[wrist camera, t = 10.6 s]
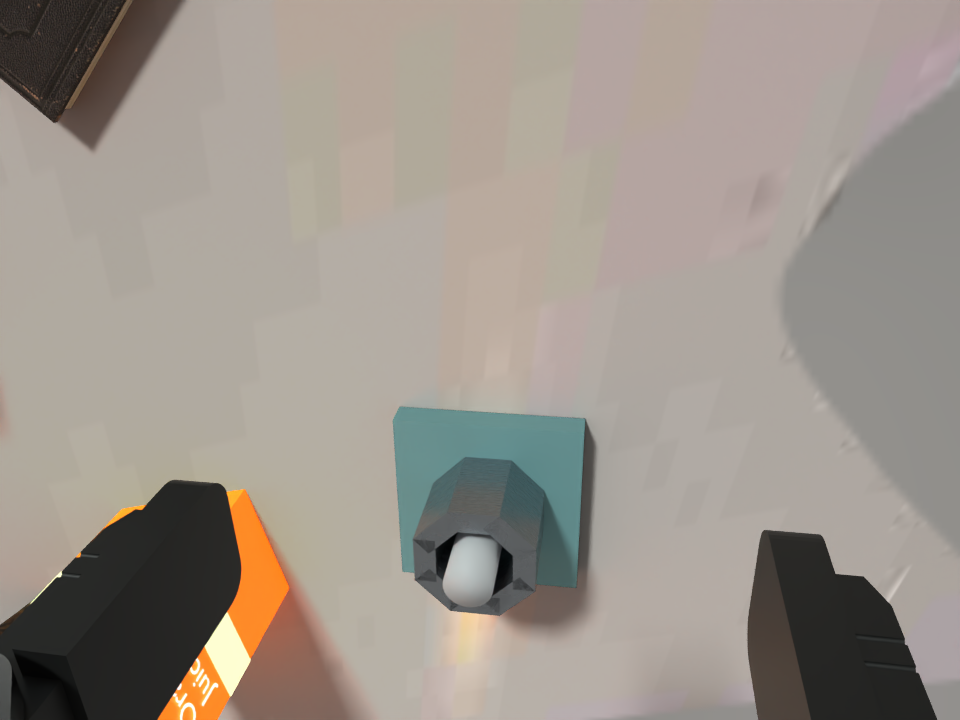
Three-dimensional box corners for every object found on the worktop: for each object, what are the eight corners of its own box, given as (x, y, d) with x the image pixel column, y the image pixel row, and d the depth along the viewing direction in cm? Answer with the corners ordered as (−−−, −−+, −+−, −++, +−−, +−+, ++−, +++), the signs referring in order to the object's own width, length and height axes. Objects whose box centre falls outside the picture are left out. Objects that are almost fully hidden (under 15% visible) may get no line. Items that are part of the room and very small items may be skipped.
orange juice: (120, 507, 49) (-165, 802, 31) (245, 486, 47) (16, 792, 29) (171, 605, 52) (-63, 927, 34) (291, 590, 50) (110, 926, 32)
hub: (545, 462, 41) (536, 519, 37) (542, 555, 44) (534, 619, 39) (432, 454, 42) (410, 509, 38) (436, 545, 45) (416, 607, 40)
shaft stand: (585, 418, 42) (579, 507, 34) (577, 570, 46) (570, 678, 38) (399, 406, 43) (356, 489, 36) (408, 555, 47) (371, 655, 40)
